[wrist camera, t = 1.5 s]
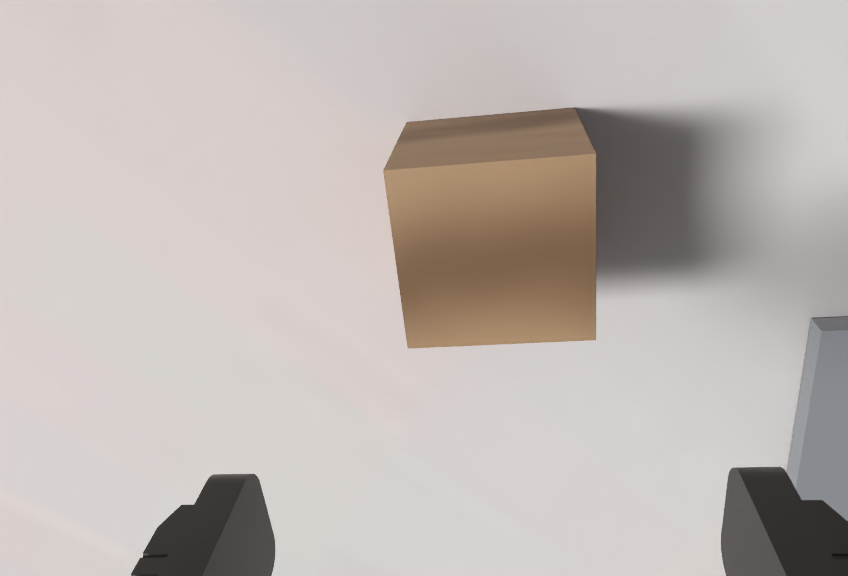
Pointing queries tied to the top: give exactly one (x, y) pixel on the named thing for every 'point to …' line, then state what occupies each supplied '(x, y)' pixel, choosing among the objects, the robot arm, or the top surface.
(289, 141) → the top surface
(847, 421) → the slate plate
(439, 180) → the walnut block
